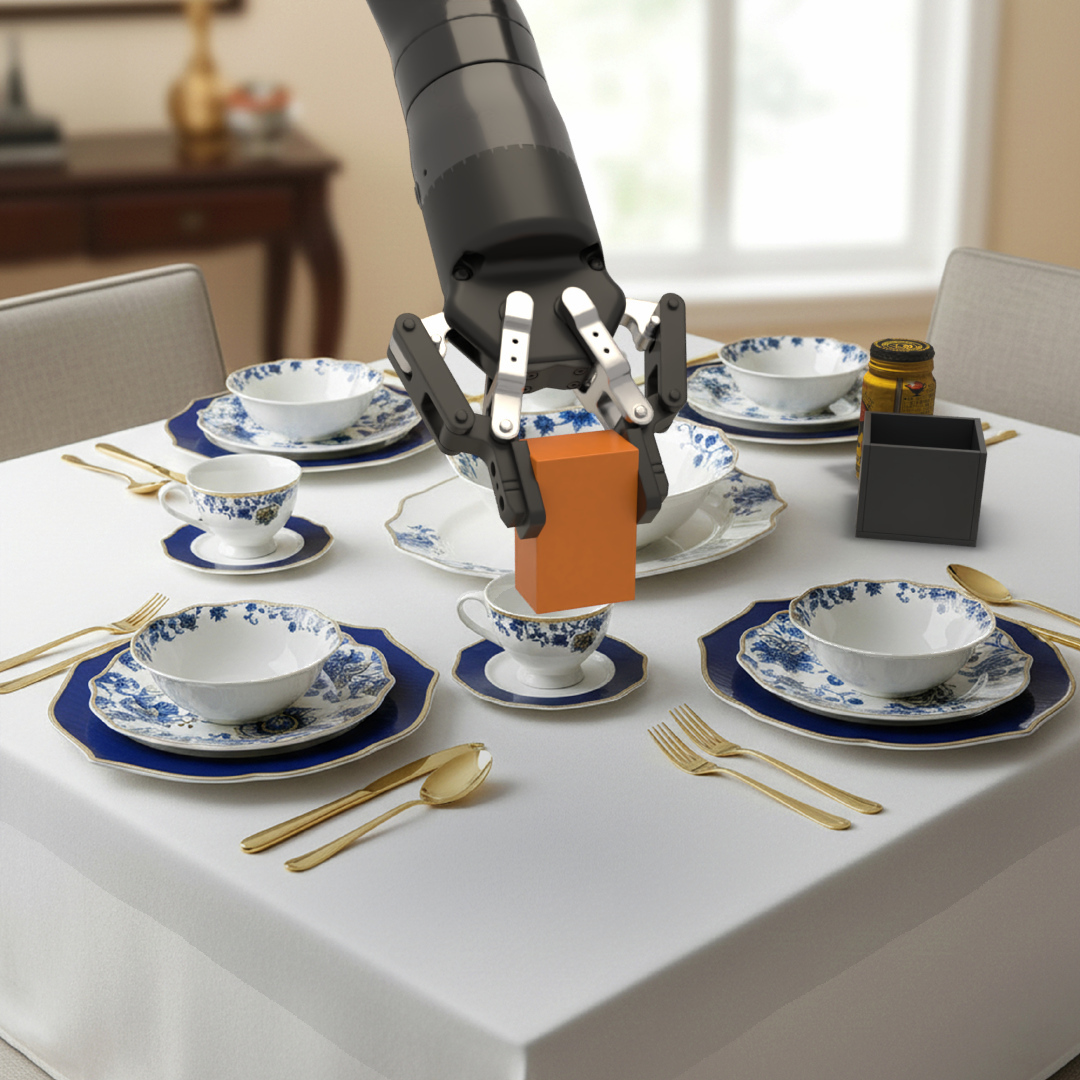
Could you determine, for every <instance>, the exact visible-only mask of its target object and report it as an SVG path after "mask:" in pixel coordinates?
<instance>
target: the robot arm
mask: <svg viewBox="0 0 1080 1080" xmlns="http://www.w3.org/2000/svg"><path fill="white" fill-rule="evenodd" d="M365 1H366V4H367V7H368V8H369V10H370V13H371V15H372V17H373V19H374V21H375V24H376V25H377V27H378V29H379V32H380V34H381V37H382V39H383V41H384V44H385V46H386V49H387V52H388V54H389V58H390V63H391V71H392V75H393V79H394V84H395V87H396V91H397V95H398V99H399V100H398V101H399V103H400V107H401V111H402V115H403V118H404V123H405V127H406V133H407V138H408V139H407V140H408V148H409V159H410V161H409V162H410V168H411V173H412V177H413V181H414V187H413V188H414V195H415V200H416V203H417V205H418V207H419V209H420V211H421V213H422V218H423V222H424V226H425V230H426V233H427V237H428V242H429V244H430V249H431V253H432V257H433V261H434V264H435V269H436V274H437V277H438V281H439V285H440V289H441V293H442V295H443V299H444V300H443V308H442V311H441V312H437V313H435V314H432V315H429V316H427V317H424V318H423V317H422V318H420V317H419V316H418V315H416V314H414V313H412V312H404V313H401V314H399V315H398V316H397V317H396V318H395V321H394V324H393V327H392V331H391V335H390V338H389V342H388V346H387V350H386V357H387V360H388V361H389V363H390V364H391V366H392V368H393V370H394V371H395V373H396V375H397V377H398V379H399V380H400V382H401V384H402V386H403V388H404V389H405V391H406V393H407V395H408V397H409V398H410V400H411V402H412V403H413V405H414V407H415V409H416V411H417V412H418V415H419V416H420V417H421V420H422V422H423V423H424V425H425V427H426V429H427V430H428V432H429V435H430V436H431V437H432V439H433V441H434V443H435V445H436V446H437V448H438V450H439V451H440V452H441V453H442V454H443V455H446V456H450V457H455V456H459V455H460V454H461V453H462V454H467V455H471V456H472V455H473V456H476V457H477V458H479V459H481V460H482V461H483V462H484V464H485V466H486V467H487V471H488V476H489V479H490V483H491V487H492V492H493V496H494V497H495V503H496V505H497V506H496V507H497V511H498V514H499V518H500V520H501V521H502V522H503V524H504V526H505V527H506V528H507V529H512V528H515V527H516V530H517V534H518V537H519V538H520V539H521V540H523V539H530V538H536V537H538V536H539V534H540V532H541V530H542V529H543V527H544V525H545V523H546V512H545V507H544V504H543V500H542V496H541V492H540V488H539V485H538V482H537V481H536V478H535V474H534V471H533V467H532V463H531V459H530V451H529V447H528V443H527V440H523V441H519V439H520V438H519V432H520V430H521V429H520V428H521V420H522V419H521V418H522V408H523V396H524V395H528V394H529V395H530V394H533V393H536V392H538V391H541V390H544V389H553V390H559V391H568V390H569V391H570V390H572V392H573V393H574V395H575V396H576V398H577V399H578V401H579V403H580V404H581V406H582V408H583V409H584V410H585V411H586V412H587V413H589V414H593V415H594V416H595V417H596V419H597V420H598V422H599V423H600V424H601V426H602V428H604V429H603V430H610V429H612V430H614V431H615V432H617V433H618V434H619V435H621V436H622V437H623V438H624V439H626V440H627V441H628V442H629V443H631V444H632V445H634V446H635V447H636V448H638V450H639V465H638V489H637V526H639V525H646V524H651V523H652V522H653V521H654V520H655V518H656V517H657V515H658V514H659V513H660V511H661V509H662V505H663V502H665V500H666V499H667V498H668V496H669V488H670V483H669V480H668V477H667V473H666V470H665V467H664V464H663V459H662V457H661V452H660V449H659V446H658V443H657V439H656V436H655V434H665V433H666V432H667V431H668V430H669V429H670V428H671V426H672V425H673V423H674V420H675V419H676V417H677V415H678V414H679V413H680V412H681V410H682V409H683V408H684V407H685V405H686V404H687V401H688V368H687V367H688V363H687V361H688V360H687V359H688V358H687V355H688V354H687V352H688V351H687V313H686V312H687V307H686V302H685V300H684V298H682V296H680V295H679V294H677V293H675V292H667V293H664V294H662V296H661V297H660V299H659V301H658V302H657V301H649V300H644V299H638V298H632V297H626V295H625V292H624V290H623V289H622V288H621V286H620V285H619V284H618V283H617V282H616V281H615V280H614V279H613V278H612V276H611V275H610V273H609V272H608V269H607V266H606V261H605V260H606V259H605V255H604V250H603V244H602V241H601V238H600V235H599V234H600V233H599V231H598V228H597V225H596V221H595V217H594V214H593V211H592V207H591V204H590V201H589V197H588V194H587V191H586V188H585V185H584V180H583V178H582V175H581V171H580V169H579V165H578V162H577V158H576V155H575V152H574V148H573V144H572V141H571V138H570V134H569V132H568V129H567V126H566V123H565V120H564V119H563V116H562V114H561V112H560V110H559V108H558V106H557V104H556V102H555V101H554V98H553V95H552V93H551V92H552V91H551V89H550V87H549V83H548V80H547V77H546V73H545V69H544V66H543V64H542V59H541V57H540V52H539V50H538V47H537V44H536V41H535V37H534V34H533V31H532V29H531V26H530V24H529V22H528V19H527V17H526V15H525V13H524V11H523V9H522V7H521V5H520V4H519V2H518V0H365ZM619 326H622V327H624V328H626V329H627V331H629V332H630V335H631V338H632V342H633V344H634V347H635V350H637V352H640V353H641V352H643V364H644V365H643V369H644V370H643V371H644V374H643V376H644V378H643V379H644V380H643V385H644V390H643V391H644V393H643V391H641V389H640V387H639V385H638V384H637V383H636V382H635V380H634V378H633V376H632V368H631V364H630V362H629V360H628V359H627V357H626V355H625V354H624V352H623V351H622V350H621V348H620V347H619V345H618V344H617V343H616V341H615V340H614V337H615V335H616V333H617V331H618V329H619ZM446 341H447V342H448V343H450V344H451V345H452V346H453V347H454V348H455V349H456V350H458V352H460V353H461V354H462V355H463V356H464V357H466V358H467V359H468V360H469V361H470V362H471V363H472V364H474V366H476V367H477V368H478V369H479V370H480V371H482V373H484V374H485V381H484V390H483V398H482V399H483V400H482V411H481V413H477V412H475V411H474V410H473V408H472V406H471V404H470V403H469V401H468V400H467V397H466V396H465V394H464V392H463V390H462V389H461V387H460V385H459V384H458V382H457V379H455V377H454V375H453V373H452V372H451V369H450V368H449V366H448V365H447V363H446V361H445V358H446V355H447V352H448V346H447V343H446Z"/></svg>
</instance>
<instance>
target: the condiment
mask: <svg viewBox="0 0 1080 1080" xmlns="http://www.w3.org/2000/svg"><path fill="white" fill-rule="evenodd" d="M935 356H936V351H935V349H934V346H933V345H932V344H930V343H929V342H926V341H923V340H918V339H912V338H902V337H901V338H900V337H899V338H898V337H895V338H893V337H892V338H882V339H878V340H876V341H874V342H872V343H871V345H870V348H869V361H868V363H867V367H868V370H867V371H866V372H865V373H864V375H863V377H862V384H861V396H860V397H861V398H860V411H859V421H858V430H857V439H856V441H857V444H856V457H855V471H856V472H855V478H856V480H857V481H859V473H860V462H861V451H862V440H863V429H864V418H865V411H871V412H872V411H877V412H892V413H908V414H923V415H934V413H935V404H936V403H935V402H936V393H937V379H936V378H935V376H934V375H933V371H934V370H935V361H934V358H935Z"/></svg>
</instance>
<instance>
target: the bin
mask: <svg viewBox="0 0 1080 1080" xmlns="http://www.w3.org/2000/svg"><path fill="white" fill-rule="evenodd" d="M987 459H988V449H987V444H986V439H985V434H984V430H983V425H982V420H981V418H980V417H967V416H955V415H954V416H952V415H937V414H933V415H923V414H908V413H892V412H877V411H872V412H871V411H865V418H864V429H863V440H862V451H861V462H860V473H859V480H858V484H857V496H856V512H855V513H856V514H855V515H856V516H855V529H854V530H855V533H854V537H855V538H859V539H870V540H882V541H894V542H908V543H918V544H919V543H921V544H931V545H942V546H943V545H945V546H954V547H955V546H956V547H957V546H958V547H970V548H976V547H977V541H978V533H979V525H980V517H981V509H982V501H983V493H984V483H985V477H986V476H985V475H986V468H987Z"/></svg>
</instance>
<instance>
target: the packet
mask: <svg viewBox="0 0 1080 1080" xmlns="http://www.w3.org/2000/svg"><path fill="white" fill-rule="evenodd" d="M523 440H527V443H528V447H529V451H530V459H531V463H532V467H533V471H534V474H535V478H536V481H537V482H538V485H539V488H540V492H541V496H542V500H543V504H544V507H545V512H546V523H545V525H544V527H543V529H542V530H541V532H540V534H539V536H538V537H536V538H530V539H523V540H521V539H520V538H519V537H518V534H517V530H516V527H514V588H515V590H516V592H517V593H519V595H520V596H521V597H522V598H523V600H524V601H525V602H526V603H527V605H528V606H529V607H530V608H531V609H532V610H533V612H534V613H535V614H536V615H545V614H550V613H557V612H564V611H570V610H571V611H572V610H576V609H583V608H584V609H585V608H590V607H597V606H603V605H610V604H616V603H624V602H630V601H631V602H632V601H635V599H636V573H637V564H636V563H637V540H638V539H637V537H638V535H637V531H638V525H637V489H638V465H639V450H638V448H636V447H635V446H634V445H632V444H631V443H629V442H628V441H627V440H626V439H624V438H623V437H622V436H621V435H619V434H618V433H617V432H615V431H614V430H612V429H610V430H605V429H603V430H593V431H583V432H573V433H567V434H566V433H565V434H556V435H547V436H538V437H531V438H530V437H529V438H521V439H520V438H519V441H523Z"/></svg>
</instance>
